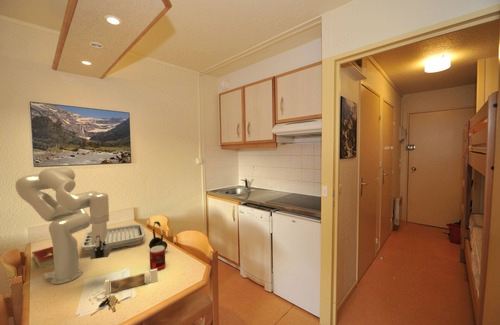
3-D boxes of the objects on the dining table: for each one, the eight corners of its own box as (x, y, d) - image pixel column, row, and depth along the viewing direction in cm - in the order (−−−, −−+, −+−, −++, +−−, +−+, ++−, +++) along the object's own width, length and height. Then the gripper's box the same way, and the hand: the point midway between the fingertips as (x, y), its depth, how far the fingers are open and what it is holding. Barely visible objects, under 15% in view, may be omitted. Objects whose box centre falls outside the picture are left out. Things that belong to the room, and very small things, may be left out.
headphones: (155, 258, 128) (154, 226, 127) (147, 250, 138) (146, 220, 137) (169, 253, 134) (168, 222, 133) (160, 246, 144) (159, 217, 143)
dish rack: (146, 245, 146) (145, 234, 146) (78, 260, 127) (77, 248, 127) (142, 231, 173) (141, 222, 173) (86, 242, 154) (85, 231, 153)
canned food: (154, 264, 122) (153, 245, 121) (167, 264, 121) (167, 245, 121) (147, 271, 114) (146, 251, 113) (161, 271, 114) (161, 251, 113)
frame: (105, 295, 95) (104, 282, 95) (106, 292, 97) (105, 279, 97) (157, 281, 105) (157, 269, 105) (157, 279, 107) (157, 268, 106)
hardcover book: (57, 250, 141) (57, 244, 141) (66, 260, 128) (66, 253, 128) (32, 258, 131) (31, 251, 131) (39, 269, 119) (38, 261, 119)
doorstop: (90, 259, 100) (90, 251, 100) (94, 254, 105) (94, 246, 105) (107, 256, 102) (107, 248, 102) (110, 252, 107) (110, 244, 107)
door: (110, 294, 96) (110, 283, 95) (111, 291, 98) (110, 281, 98) (144, 285, 102) (144, 275, 101) (145, 282, 104) (144, 273, 104)
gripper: (94, 214, 109) (95, 249, 110) (85, 225, 93) (86, 265, 94) (111, 213, 112) (112, 246, 113) (105, 223, 97) (106, 261, 98)
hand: (100, 254), depth 104 cm, fingers closed on doorstop, 5 cm apart
